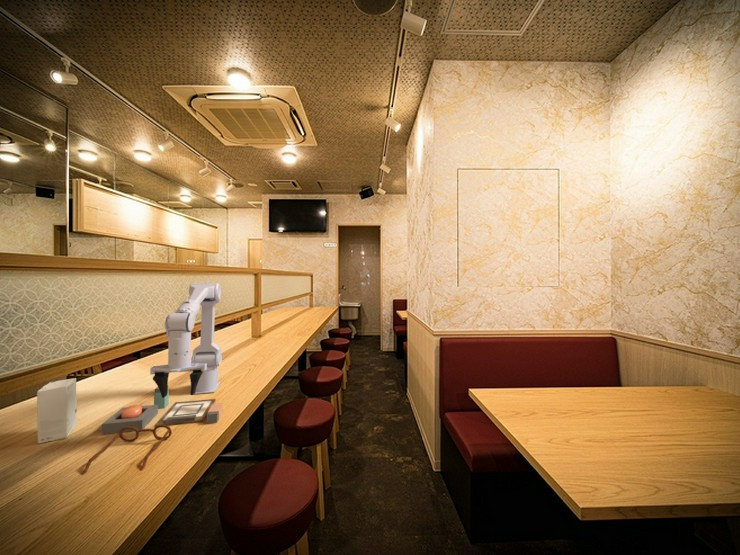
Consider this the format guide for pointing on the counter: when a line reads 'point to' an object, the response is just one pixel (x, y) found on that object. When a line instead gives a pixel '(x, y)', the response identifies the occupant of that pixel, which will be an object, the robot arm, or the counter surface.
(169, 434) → the glasses
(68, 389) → the skincare box
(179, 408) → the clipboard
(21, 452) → the counter surface
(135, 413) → the button
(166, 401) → the block
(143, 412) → the button housing
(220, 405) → the terracotta marker
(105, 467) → the counter surface
